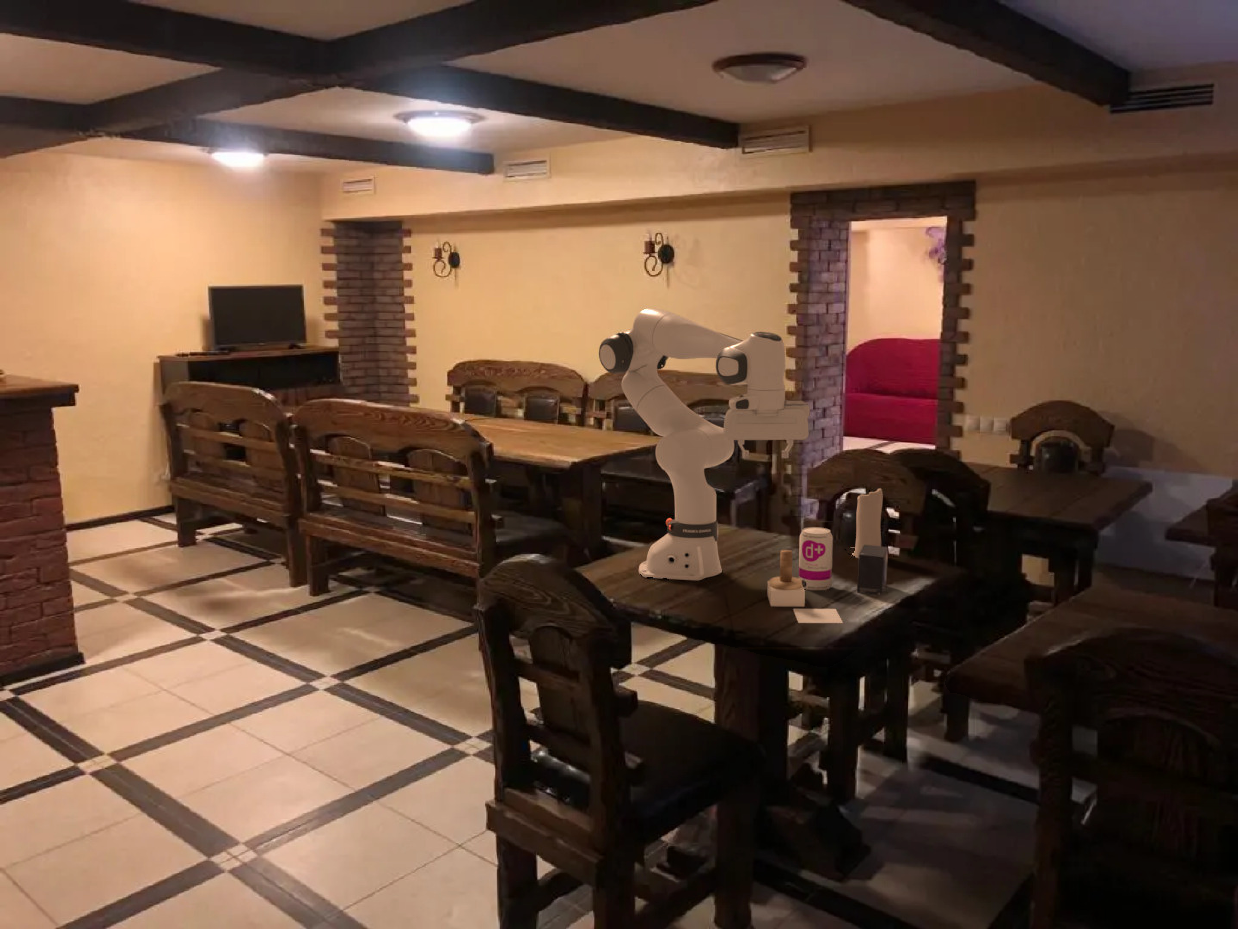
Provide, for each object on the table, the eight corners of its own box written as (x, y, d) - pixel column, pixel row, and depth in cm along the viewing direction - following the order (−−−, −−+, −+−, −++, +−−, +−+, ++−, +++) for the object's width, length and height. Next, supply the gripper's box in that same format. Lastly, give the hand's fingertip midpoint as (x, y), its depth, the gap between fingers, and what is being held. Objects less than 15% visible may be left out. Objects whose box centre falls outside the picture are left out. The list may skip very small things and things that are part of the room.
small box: (883, 597, 244) (884, 556, 242) (856, 595, 247) (857, 554, 245) (887, 585, 254) (888, 545, 252) (861, 583, 256) (862, 544, 254)
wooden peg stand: (771, 590, 236) (772, 555, 235) (768, 580, 244) (768, 547, 242) (803, 590, 236) (804, 555, 234) (799, 580, 243) (800, 547, 242)
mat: (798, 625, 225) (798, 622, 225) (792, 611, 235) (792, 608, 234) (842, 625, 224) (843, 622, 224) (835, 611, 234) (835, 608, 234)
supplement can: (825, 594, 247) (827, 535, 245) (794, 589, 251) (795, 532, 249) (835, 585, 254) (837, 528, 252) (804, 581, 258) (805, 525, 256)
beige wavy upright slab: (858, 547, 292) (860, 480, 289) (885, 558, 279) (888, 489, 276) (837, 549, 290) (839, 482, 286) (863, 561, 277) (865, 491, 273)
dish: (770, 608, 237) (771, 590, 236) (767, 598, 245) (767, 580, 244) (804, 608, 236) (804, 590, 236) (800, 598, 244) (800, 580, 244)
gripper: (808, 399, 239) (806, 455, 241) (722, 399, 240) (722, 456, 242) (811, 401, 233) (810, 460, 235) (724, 402, 234) (724, 460, 236)
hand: (765, 458), depth 239 cm, fingers open, 8 cm apart
